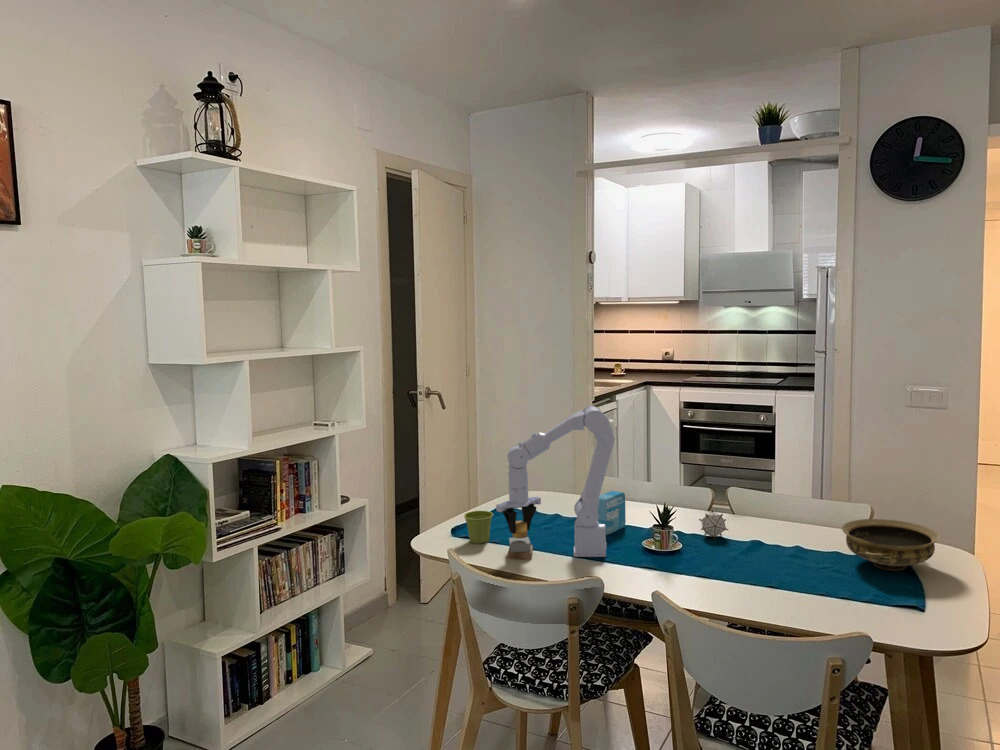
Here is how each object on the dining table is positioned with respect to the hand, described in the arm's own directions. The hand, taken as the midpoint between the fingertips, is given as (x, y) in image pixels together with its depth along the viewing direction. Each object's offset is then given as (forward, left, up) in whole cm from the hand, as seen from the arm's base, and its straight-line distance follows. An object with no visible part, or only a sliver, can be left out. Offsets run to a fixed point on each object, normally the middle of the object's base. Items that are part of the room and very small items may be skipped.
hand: (519, 531), depth 227 cm
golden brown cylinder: (0, 0, -2) cm, 2 cm away
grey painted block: (0, 0, -6) cm, 6 cm away
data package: (-28, -24, -8) cm, 38 cm away
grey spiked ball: (-60, -17, -8) cm, 63 cm away
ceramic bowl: (-103, +8, -8) cm, 104 cm away
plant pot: (+14, -13, -8) cm, 21 cm away
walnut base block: (0, 0, -8) cm, 8 cm away
